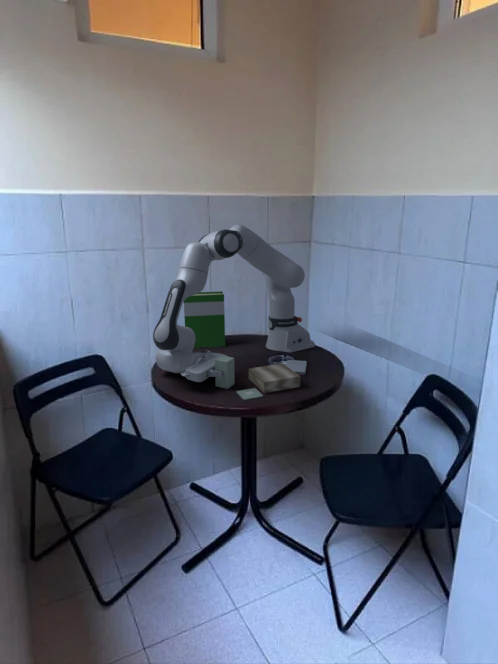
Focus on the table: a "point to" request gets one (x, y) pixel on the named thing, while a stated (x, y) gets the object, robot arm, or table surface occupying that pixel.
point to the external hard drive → (297, 366)
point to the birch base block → (274, 378)
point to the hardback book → (206, 318)
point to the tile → (249, 394)
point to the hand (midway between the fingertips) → (227, 370)
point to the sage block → (225, 371)
